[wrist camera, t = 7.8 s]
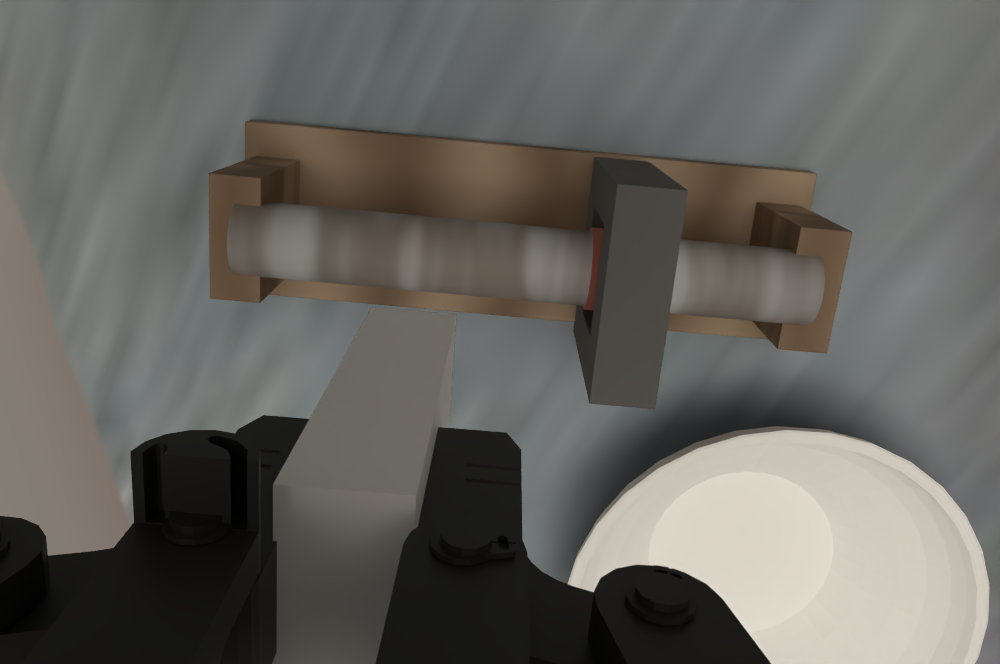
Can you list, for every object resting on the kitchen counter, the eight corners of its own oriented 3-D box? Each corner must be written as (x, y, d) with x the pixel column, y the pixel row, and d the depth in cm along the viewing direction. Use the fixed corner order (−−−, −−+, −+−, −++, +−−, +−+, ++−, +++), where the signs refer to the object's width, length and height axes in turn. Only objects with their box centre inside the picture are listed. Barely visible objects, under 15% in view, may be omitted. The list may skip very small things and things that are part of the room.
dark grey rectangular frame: (573, 330, 40) (589, 403, 32) (594, 156, 38) (617, 184, 30) (624, 335, 40) (655, 409, 32) (648, 161, 38) (688, 190, 30)
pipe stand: (251, 287, 43) (187, 341, 34) (251, 120, 40) (184, 134, 32) (778, 334, 43) (841, 399, 35) (809, 171, 41) (885, 199, 32)
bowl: (593, 726, 50) (605, 826, 44) (518, 419, 45) (519, 481, 38) (937, 664, 49) (1003, 757, 42) (904, 338, 43) (974, 388, 37)
